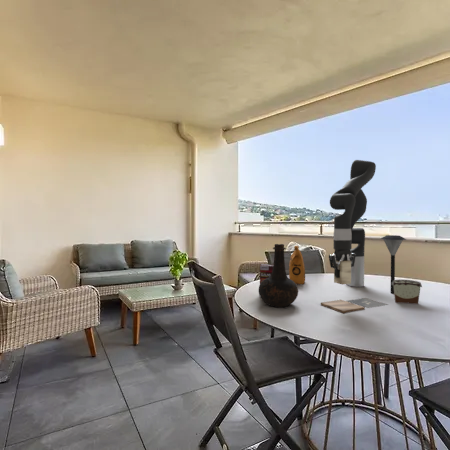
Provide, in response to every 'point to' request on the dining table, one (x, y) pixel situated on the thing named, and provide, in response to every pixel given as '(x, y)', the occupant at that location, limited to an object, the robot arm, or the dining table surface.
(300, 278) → the coffee package
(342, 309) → the walnut board
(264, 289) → the glass bottle
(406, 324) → the dining table surface
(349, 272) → the birch block
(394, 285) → the food container
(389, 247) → the solar garden light
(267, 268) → the supplement box
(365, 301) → the tile
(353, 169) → the robot arm
